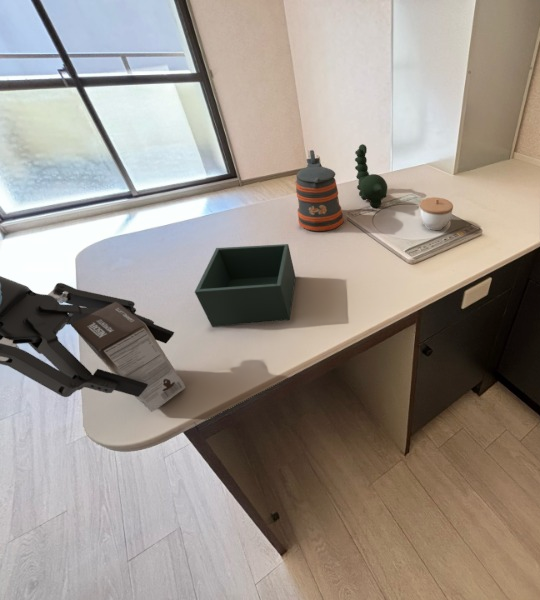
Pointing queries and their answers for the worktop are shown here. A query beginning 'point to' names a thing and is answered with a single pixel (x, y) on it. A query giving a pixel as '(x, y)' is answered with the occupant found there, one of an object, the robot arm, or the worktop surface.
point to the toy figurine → (369, 180)
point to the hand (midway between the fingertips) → (157, 362)
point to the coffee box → (130, 352)
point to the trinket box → (435, 212)
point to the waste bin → (247, 285)
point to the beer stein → (318, 197)
